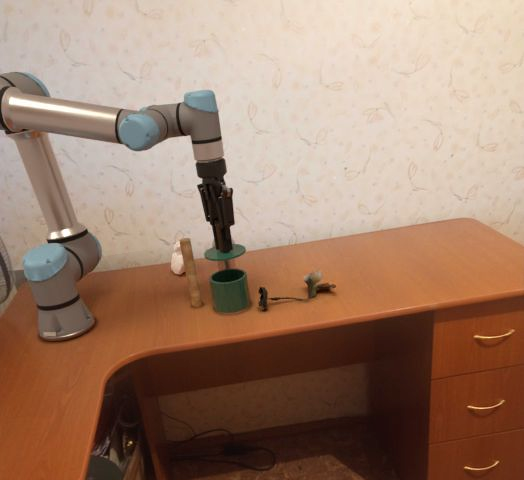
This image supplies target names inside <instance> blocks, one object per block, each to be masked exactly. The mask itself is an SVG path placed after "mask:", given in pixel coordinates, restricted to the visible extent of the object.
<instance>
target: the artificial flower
mask: <svg viewBox="0 0 524 480" xmlns="http://www.w3.org/2000/svg"><path fill="white" fill-rule="evenodd" d="M302 278H303V281H304V283H305V284H306V286H307V289H308V296H307V298H300V297H299V298H298V297H297V298H296V297H292V296H291V297H290V296H289V297H288V296H285V297H283V296H282V297H275V296H274V297H269V295H268V293H269V292H268V290H267V288H266V287H264V286H260V287H259V288H258V294H259V295H260V297H259V299H258V300H259V301H258V303H257V304H258V307H263V311H266V310H267V309H268V305H267V304H268V303H267V302H268V300H270V301H274V302H275V301H279V300H295V301H301V302H303V301H308V300H311V299H313V298H314V297H315V296H316V295H317V290H331V289H336V288H337V284H334V283H329V282H322V283H320V282H321V281H322V279H323V272H322V270H321V269H318V270H316V271H314V272H310V273H307V274H306V275H302Z"/></svg>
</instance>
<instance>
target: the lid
mask: <svg viewBox="0 0 524 480" xmlns="http://www.w3.org/2000/svg"><path fill="white" fill-rule="evenodd" d="M215 227H216V233H217V239H218V245H219V250H216V246H215V247H213V246H212V247H211V248H208V249H206V250H205V251H204V253H203V257H204V259H205V260H207V261H212V262H217V261H225V260H231V259H234V258H235V259H237V258H239V257H242V256H244V254H245V253H246V252H247V249H246V248H247V247H246V246H244V245H242V244H239V243H235V244H232V246H233V250H231V251H228V252H223V248H222V241H221V235H220V229H219V227H221V224H220V221H217V222H215Z"/></svg>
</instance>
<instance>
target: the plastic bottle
mask: <svg viewBox="0 0 524 480" xmlns="http://www.w3.org/2000/svg"><path fill="white" fill-rule="evenodd" d="M231 240H232V244H236V243H235V240H234V239H233V237H232V236H231ZM212 247H215V240H214V239H213V240H212ZM216 262H217V267H218V268H217V269H218V270H217V271H221V270H224V269H238V267H237V263H236V258H234V259H231V260H225V261H216Z"/></svg>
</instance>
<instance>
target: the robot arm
mask: <svg viewBox="0 0 524 480" xmlns="http://www.w3.org/2000/svg"><path fill="white" fill-rule="evenodd" d="M219 112H220V109H219V108H218V104H217V98H216V94H215V92H214V91H213V90H211V89H201V90H194V91H189V92H186V93H184V94H183V101H182V102H176V103H166V104H152V105H149V106H143V107H141V108H140V109H139V110H133V109H127V108H126V109H125V108H121V107H114V106H109V105H101V104H95V103H89V102H81V101H77V100H76V101H75V100H70V99H63V98H56V97H51V94H50V92H49V90H48V88H47V86H46V84H44V83H43V81H42V80H41V79H40V78H38V77H37V76H35V75H34V74H31V73H29V72H25V71H10V72H5V73H0V131H4V134H5V136H6V137H8V138H9V139H11V140H13V141H14V143H15V145H16V148H17V151H18V153H19V155H20V158H21V161H22V164H23V166H24V169H25V171H26V174H27V176H28V179H29V181H30V185H31V187H32V190H33V192H34V195H35V198H36V200H37V204H38V205H39V208H40V211H41V213H42V214H41V215H42V216H43V219H44V221H45V223H46V224H45V225H46V226H47V229H48V231H47V232H46V235H45V240H46V242H47V243H45V244H41V245H39V246H38V247H34V248H32V249H30V250H29V251H27V252H26V253H25V254H24V256H22V259H21V265H22V268H23V274H24V277H25V278H26V280H27V284H28V286H29V289H30V292H31V294H32V297H33V299H34V303H35V305H36V308H37V330H38V334H39V337H40V339H41V340H43V341H46V342H52V343H53V342H64V341H69V340H72V339H75V338H78V337H81V336H83V335H85V334H86V333H88V332H89V331H90V330H91V329H92V328H93V327H94V326H95V323H96V321H95V317H94V316H93V313H92V311H90V309H89V308H88V306H87V305H86V304H85V303H84V301H83V300H82V298H81V294H80V292H79V291H80V290H79V288H78V285H77V283H78V282H80V281H81V280H82V279H83V278H85V277H86V276H87V275H89V274H90V273H91V272H93V271H94V270H95V269H96V268H97V267H98V265H99V264H100V262H101V260H102V257H103V249H102V245H101V242H100V241H99V239H98V237H97V236H96V235H93V233H92V232H90V231H89V230H88V227H87V225H85V224H84V223H82V222H81V221H79V217H78V215H77V212H76V209H75V206H74V203H73V201H72V198H71V194H70V192H69V189H68V185H67V184H66V181H65V178H64V175H63V172H62V169H61V166H60V164H59V163H60V162H59V161H58V160H59V159H58V157H57V155H56V152H55V149H54V146H53V143H52V140H51V137H50V134H54V135H61V136H67V137H74V138H80V139H84V140H85V139H86V140H92V141H98V142H105V143H111V144H117V145H123V146H125V147H126V148H127V149H129V150H130V151H133V152H143V151H145V152H146V151H148V150H151V149H152V148H154V147H155V146H157V145H158V144H161V143H162V142H164V141H166V140H168V139H171V138H181V137H188V136H189V137H190V142H191V147H192V153H193V159H194V161H196V162H195V169H196V170H195V171H196V176H197V177H198V178H199V179H201V183H199V184H197V185H196V187H197V190H198V193H199V196H200V200H201V205H202V210H203V213H204V218H205V221H206V222H207V223H209V225H210V226H211V229H212V235H213V240H215V246H216V250H219V245H218V239H217V233H216V227H215V222H217V221H220V224H221V227H219V229H220V235H221V241H222V248H223V252H228V251H231V250H233V246H232V240H231V237H232V231H231V227H232V226H235V224H236V221H235V211H234V200H233V195H234V188H233V187H228V186H227V184H226V181H225V178H224V176H225V175H227V173H228V170H227V169H228V168H227V162H226V159H225V158H224V156H225V151H224V143H223V137H222V129H221V122H220V121H221V120H220V114H219Z"/></svg>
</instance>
